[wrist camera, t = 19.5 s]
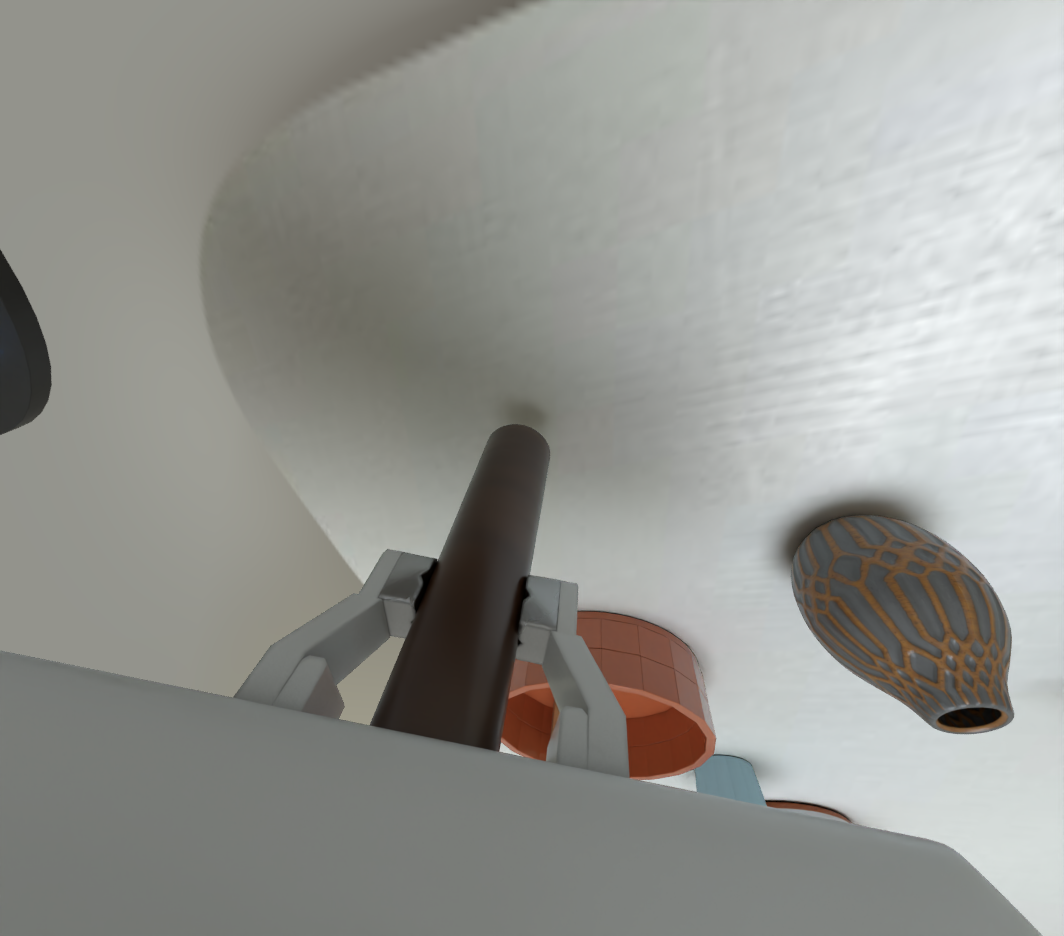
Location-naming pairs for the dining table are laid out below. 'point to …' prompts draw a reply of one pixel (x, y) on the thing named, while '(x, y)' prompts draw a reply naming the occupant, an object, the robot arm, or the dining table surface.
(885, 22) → the dining table surface
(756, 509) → the dining table surface
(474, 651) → the dark brown cylinder
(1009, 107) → the dining table surface
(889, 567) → the vase
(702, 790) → the cup
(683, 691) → the bowl
